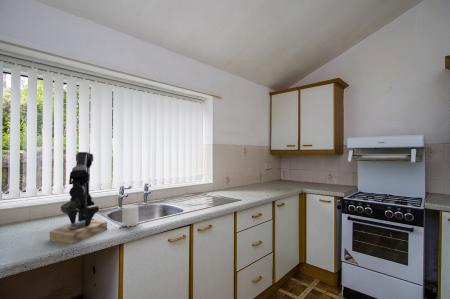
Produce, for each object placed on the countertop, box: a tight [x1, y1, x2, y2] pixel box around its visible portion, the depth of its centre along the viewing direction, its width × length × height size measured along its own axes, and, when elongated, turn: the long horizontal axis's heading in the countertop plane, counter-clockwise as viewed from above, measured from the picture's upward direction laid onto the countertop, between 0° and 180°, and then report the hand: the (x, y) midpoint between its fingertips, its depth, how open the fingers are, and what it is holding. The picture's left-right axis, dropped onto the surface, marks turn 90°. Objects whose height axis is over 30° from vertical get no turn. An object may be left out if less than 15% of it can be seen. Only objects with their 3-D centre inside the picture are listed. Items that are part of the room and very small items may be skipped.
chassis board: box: [49, 219, 108, 245], centre depth 118 cm, size 20×14×4 cm
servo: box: [67, 220, 92, 229], centre depth 118 cm, size 10×4×7 cm, turn 162°
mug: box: [121, 204, 139, 228], centre depth 134 cm, size 12×8×10 cm
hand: (80, 225), depth 118 cm, fingers open, 9 cm apart
